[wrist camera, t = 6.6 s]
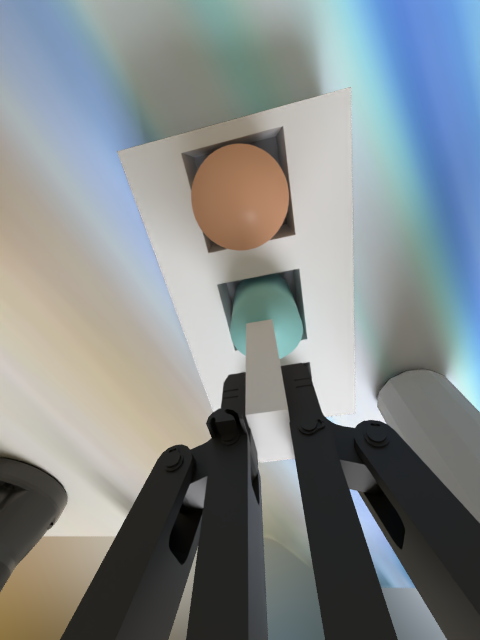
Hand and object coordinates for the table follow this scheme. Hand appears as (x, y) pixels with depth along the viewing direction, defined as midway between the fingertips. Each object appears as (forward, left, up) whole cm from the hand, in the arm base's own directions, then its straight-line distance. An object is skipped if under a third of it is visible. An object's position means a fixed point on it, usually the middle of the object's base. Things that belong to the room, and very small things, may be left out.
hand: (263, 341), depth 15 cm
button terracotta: (0, +8, -5) cm, 9 cm away
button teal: (0, 0, -6) cm, 6 cm away
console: (0, 0, -8) cm, 8 cm away
